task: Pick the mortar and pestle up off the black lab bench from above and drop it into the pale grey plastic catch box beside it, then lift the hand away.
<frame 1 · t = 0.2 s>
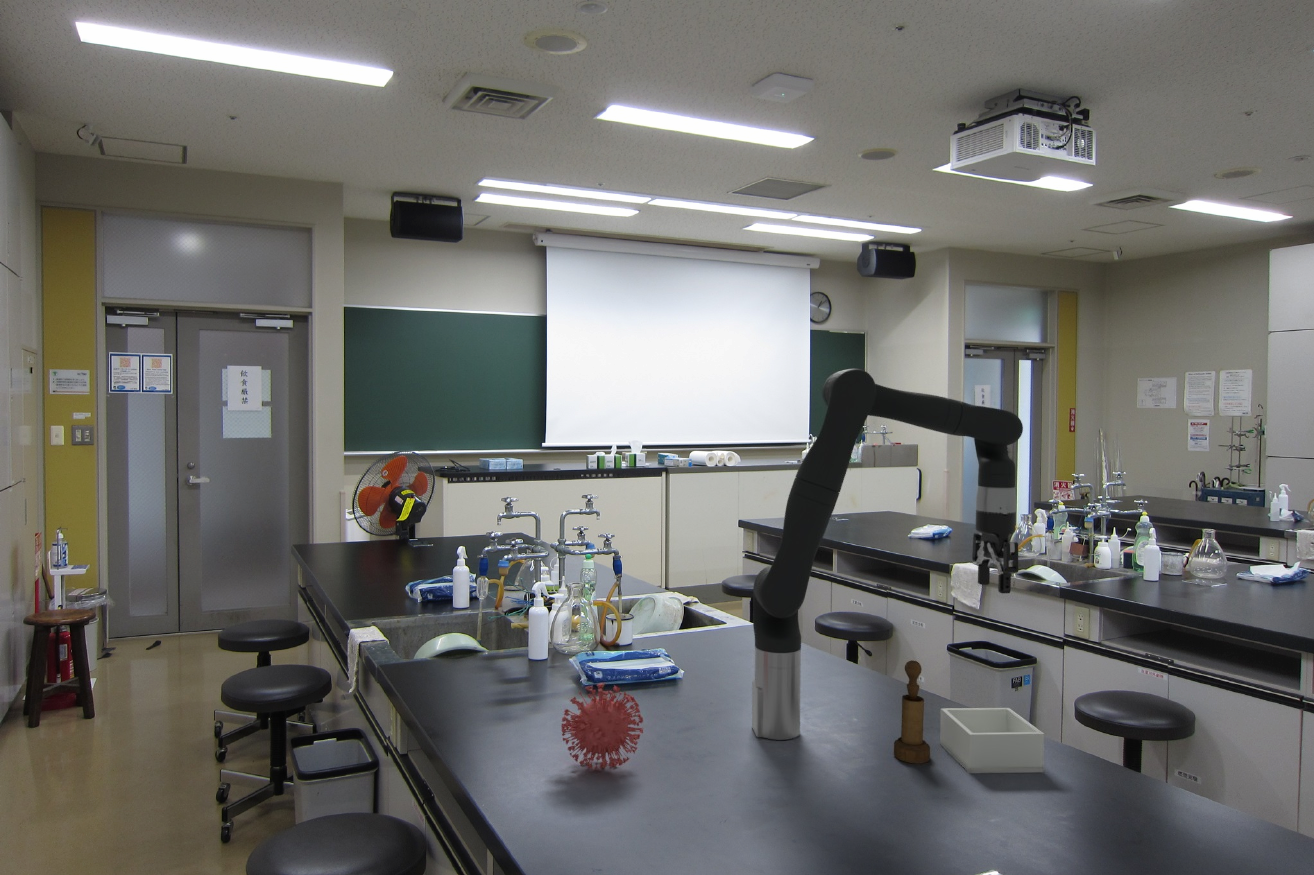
hand: (993, 588, 173), 29 cm above the countertop, tool pointing down, fingers open, 8 cm apart
catch box: (989, 757, 159), on the countertop
mortar and pestle: (911, 757, 160), on the countertop
virus model: (601, 768, 154), on the countertop
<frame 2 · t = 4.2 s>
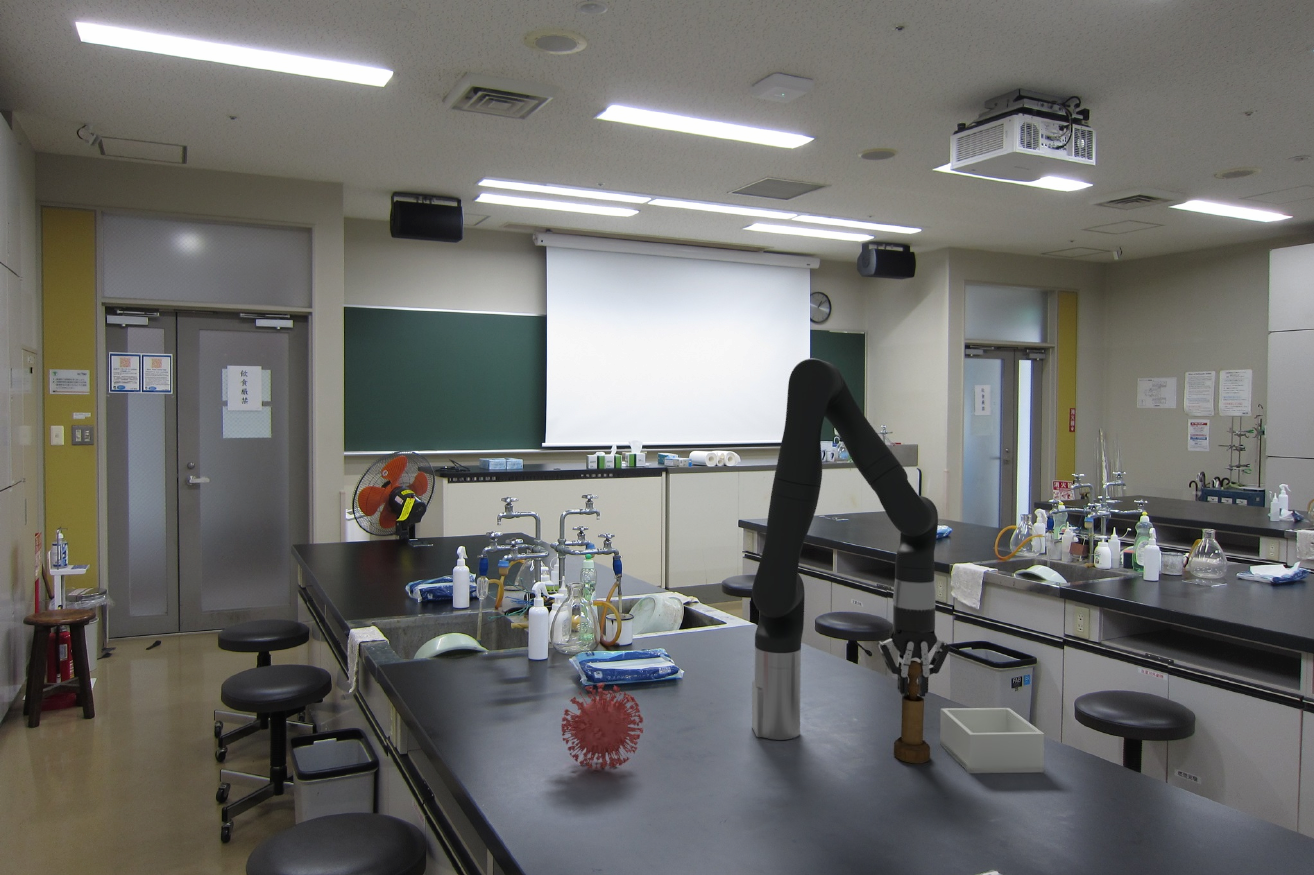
hand: (912, 695, 159), 12 cm above the countertop, tool pointing down, fingers closed on mortar and pestle, 2 cm apart
mortar and pestle: (911, 757, 160), on the countertop, touching gripper
everything else where it was.
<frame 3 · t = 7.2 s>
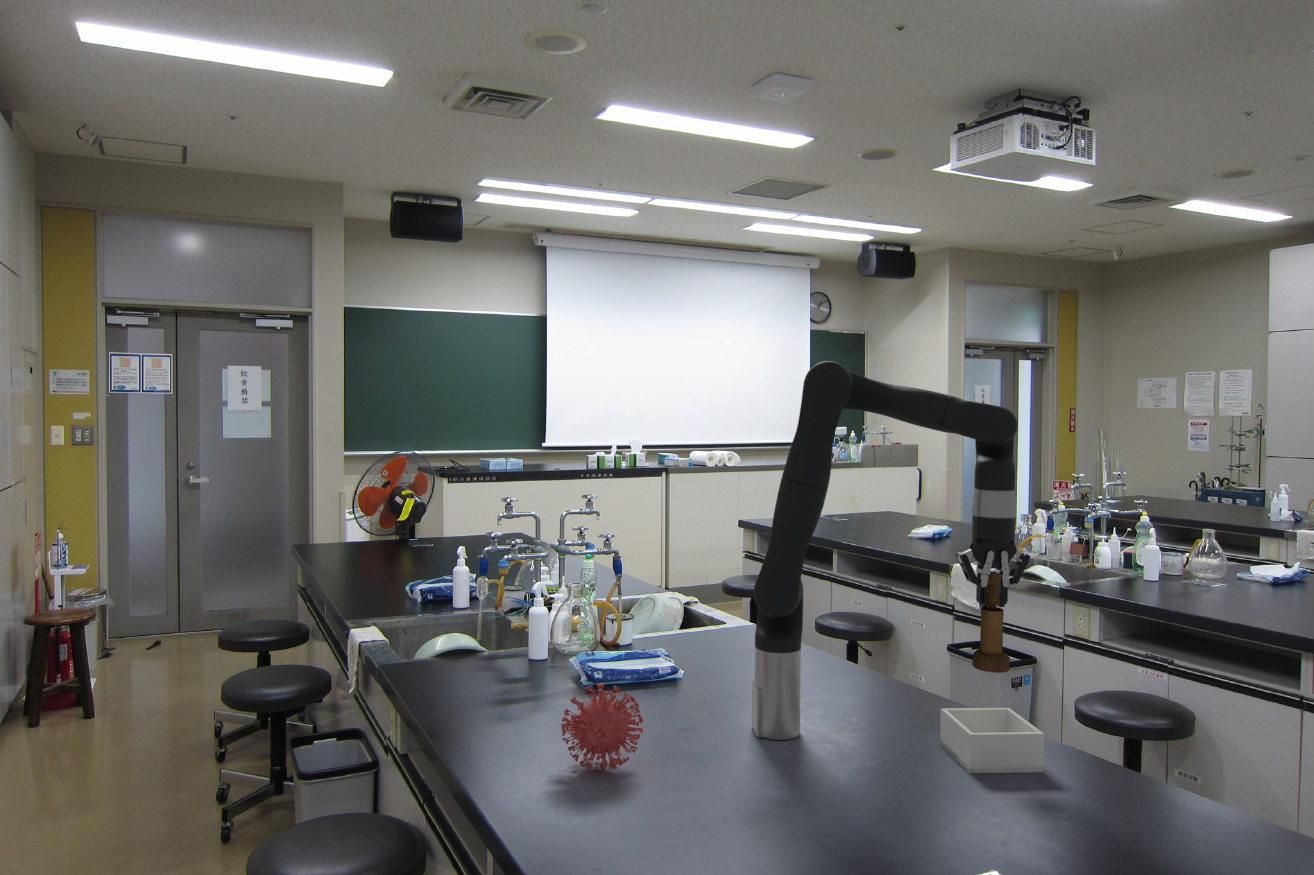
hand: (991, 605, 159), 29 cm above the countertop, tool pointing down, fingers closed on mortar and pestle, 2 cm apart
mortar and pestle: (990, 668, 159), point 17 cm above the countertop, touching gripper
everything else where it was.
when the fingers open (14 cm above the countertop, at t = 10.3 s): mortar and pestle drops 2 cm, resting on catch box.
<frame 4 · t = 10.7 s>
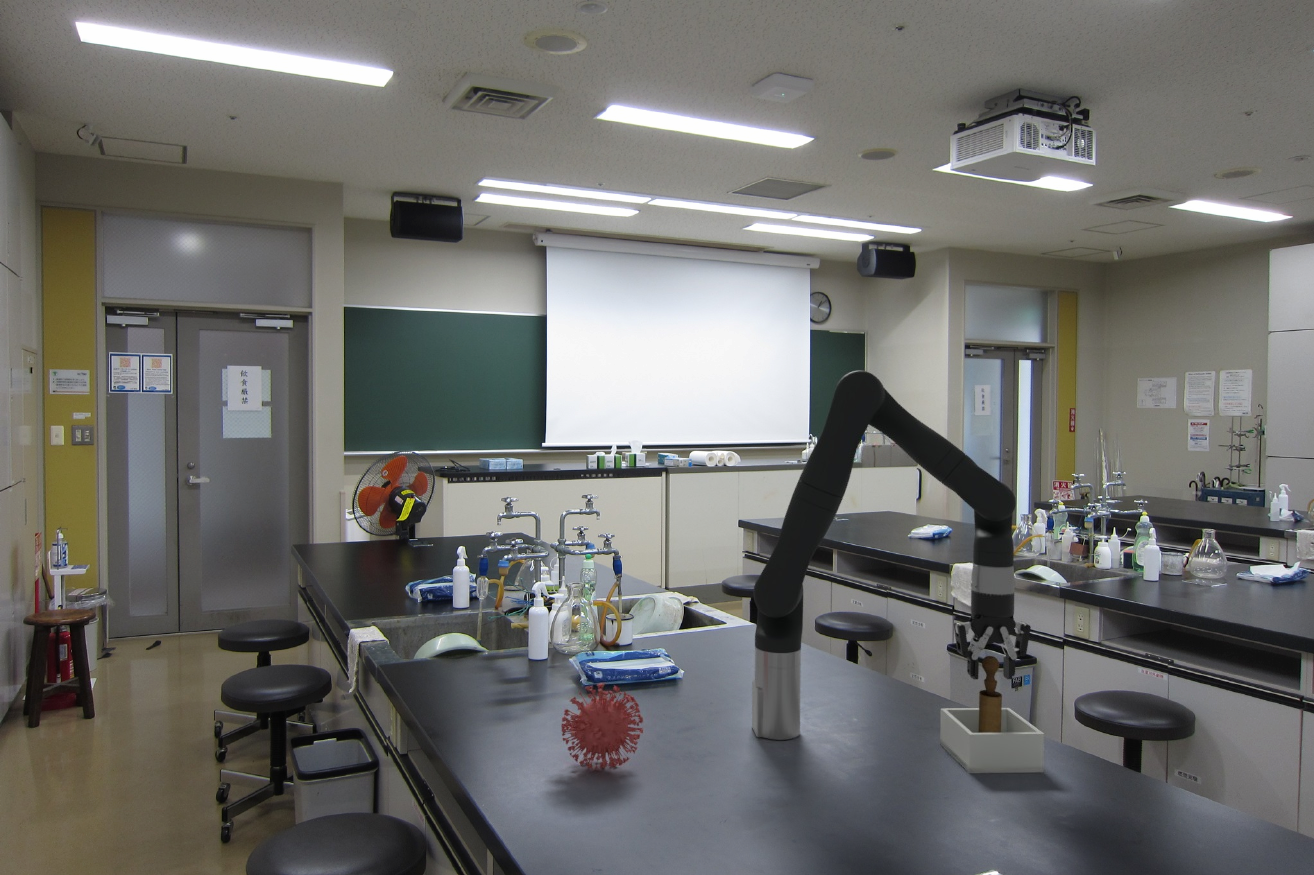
hand: (991, 678, 159), 15 cm above the countertop, tool pointing down, fingers open, 6 cm apart
mortar and pestle: (989, 753, 159), point 1 cm above the countertop, touching catch box
everything else where it was.
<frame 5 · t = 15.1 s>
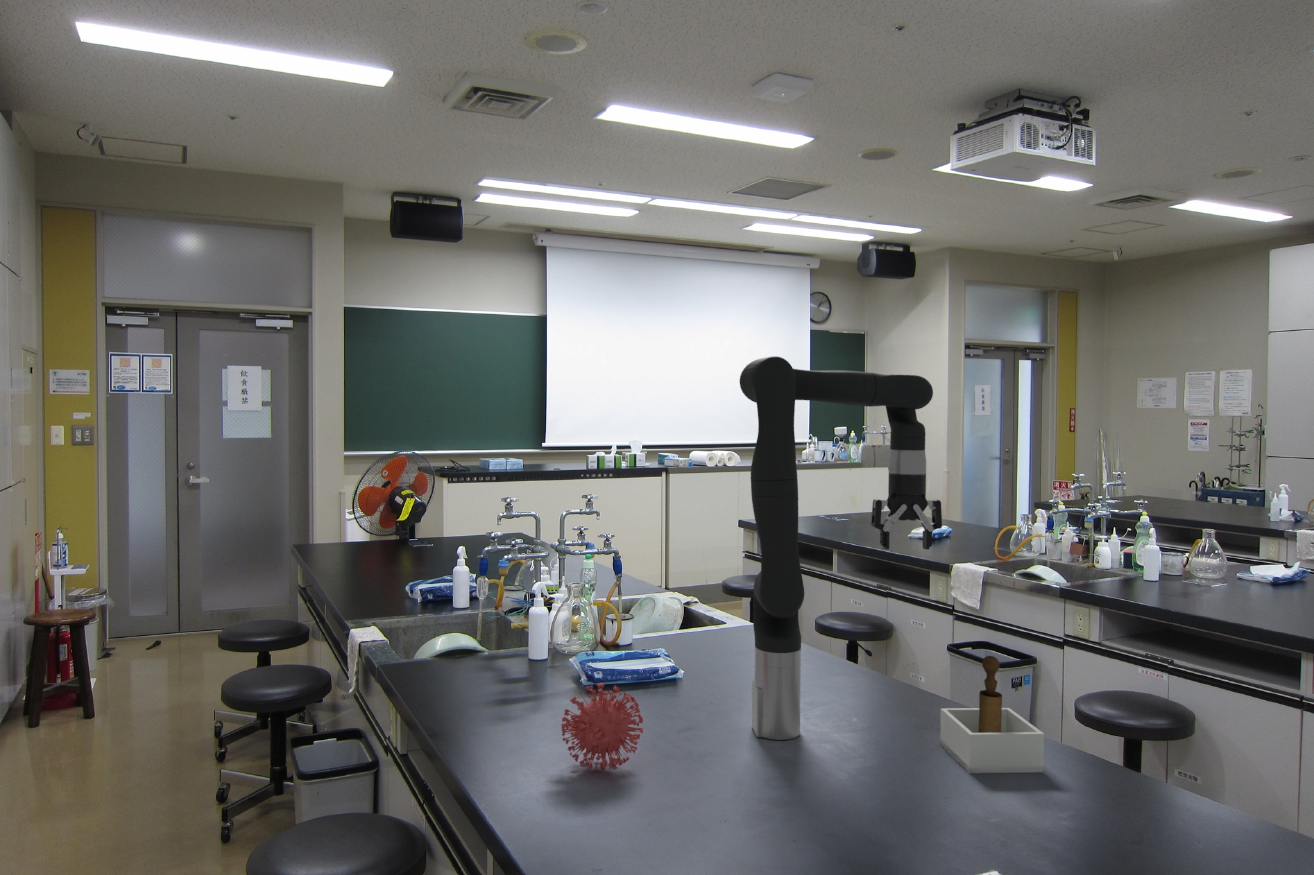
hand: (906, 549, 178), 36 cm above the countertop, tool pointing down, fingers open, 8 cm apart
nothing on the countertop moved.
at the end: mortar and pestle inside the target area on the catch box (0.1 cm from its centre), point 0.8 cm above the catch box's base; the gripper is holding nothing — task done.
